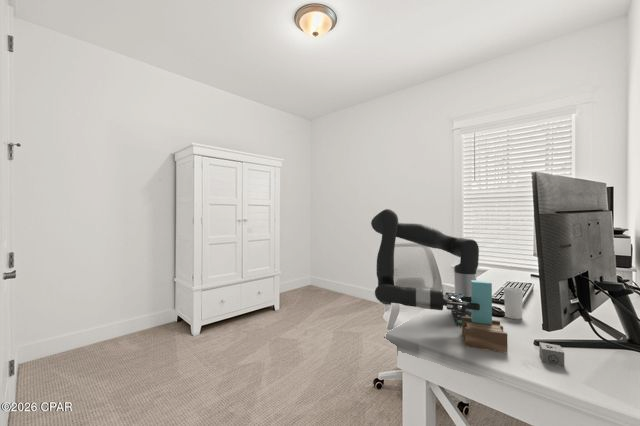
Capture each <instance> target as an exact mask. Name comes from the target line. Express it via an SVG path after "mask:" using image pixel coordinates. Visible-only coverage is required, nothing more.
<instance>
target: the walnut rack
mask: <svg viewBox="0 0 640 426" xmlns="http://www.w3.org/2000/svg"><path fill="white" fill-rule="evenodd" d="M467 323H473V324H481V325H490V326H498V327H500V328H501V329H502V331H503V332H498V331H490V330H483V329H475V328H467ZM461 334H462V339H463V342H464V347H465V348H466V347H467V348H473V349H479V350H484V351H491V352H492V351H493V352H500V353H507V354H508V353H509V352H508V351H509V350H508V332H505V331H504V326H503V325H501V321H500V320H499V319H497V320H496V319H492V324H484V323H475V322H471V317H463V316H462V326H461Z"/></svg>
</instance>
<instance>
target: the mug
mask: <svg viewBox="0 0 640 426" xmlns="http://www.w3.org/2000/svg"><path fill="white" fill-rule="evenodd" d="M523 293H524V291H523V289H521V288H519V287H518V288H517V287H511V286H508V287H507V286H506V287H503V296H504V297H503V298H504V315H505V317H506V318H509V319H512V320H521V319H522V320H523V298H524V297H523V296H524V294H523Z"/></svg>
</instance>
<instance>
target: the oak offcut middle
mask: <svg viewBox="0 0 640 426" xmlns="http://www.w3.org/2000/svg"><path fill="white" fill-rule="evenodd" d="M467 325H470V326H478V327H486V328H494V329H501V328H500V327H498V326H490V325H481V324H473V323H467Z"/></svg>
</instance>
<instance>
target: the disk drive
mask: <svg viewBox="0 0 640 426" xmlns="http://www.w3.org/2000/svg"><path fill="white" fill-rule="evenodd" d="M462 316H463V317H471V312H464V311H457V310H451V317H452V318H453V319H454V322H455V325H456V326H457V327H462Z"/></svg>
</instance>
